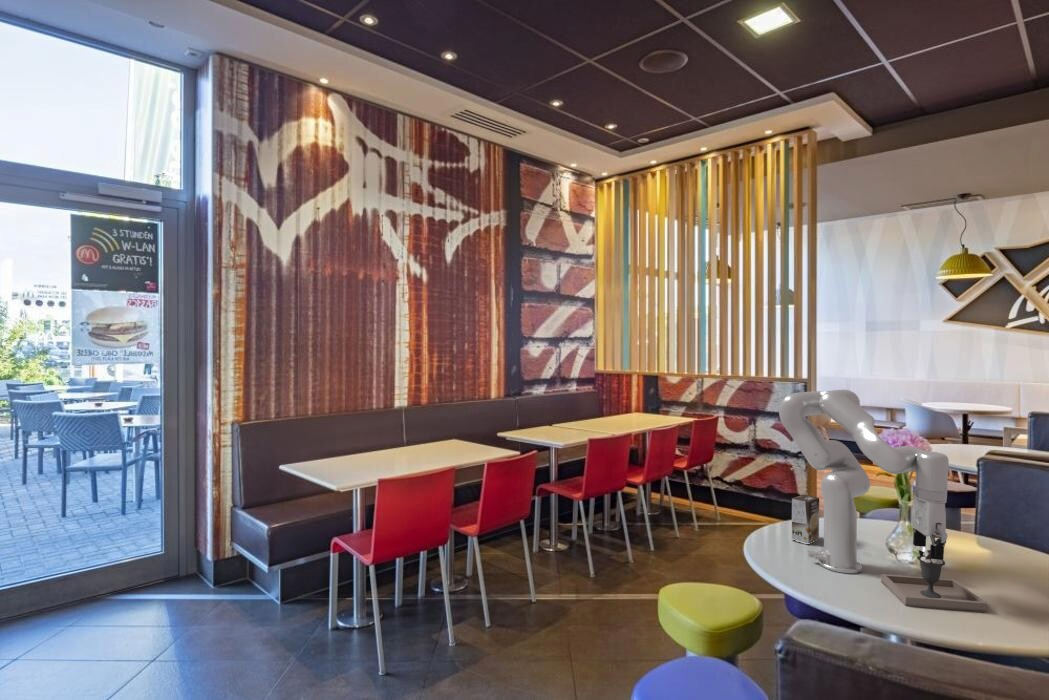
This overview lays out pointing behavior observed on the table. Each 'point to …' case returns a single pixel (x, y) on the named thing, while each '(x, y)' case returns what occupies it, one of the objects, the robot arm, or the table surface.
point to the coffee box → (805, 518)
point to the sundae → (930, 572)
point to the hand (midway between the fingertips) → (927, 552)
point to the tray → (949, 589)
